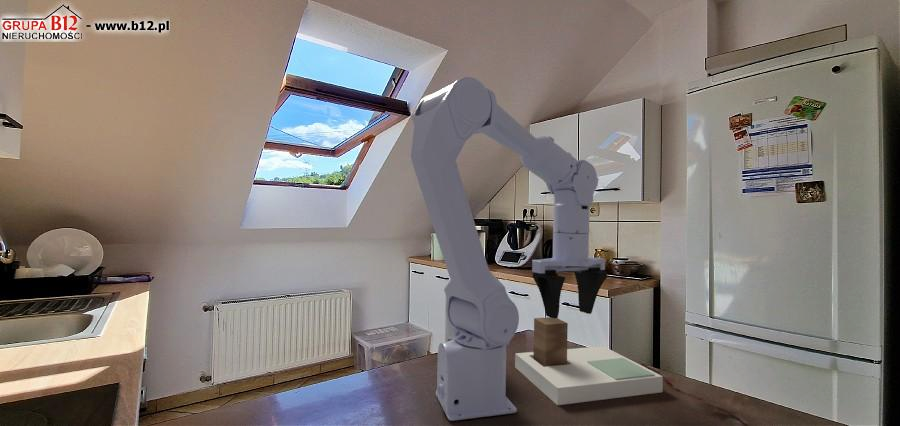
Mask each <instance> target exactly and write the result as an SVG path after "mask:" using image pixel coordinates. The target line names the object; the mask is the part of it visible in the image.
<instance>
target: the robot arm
mask: <svg viewBox="0 0 900 426" xmlns="http://www.w3.org/2000/svg"><path fill="white" fill-rule="evenodd" d="M411 120H412V123H413V133H412V142H411V143H412V144H411V151H410V158H411V162H412V166H413V169H414V173H415V176H416V178H417V181H418V184H419V187H420V188H419V189H420V191H421V194H422V197H423V200H424V203H425V206H426V209H427V211H428V215H429V218H430V221H431V224H432V227H433V230H434V234H435V236H436V239H437V244H438V245H439V248H440V252H441V255H442V258H443V261H444V264H445V267H446V269H447V273H448V276H449V279H450V280H449V282H448V283H446V286H445V287H444V289H443V290H444V294H445V299H446V298H447V306H446V305H445V316H446V315H447V319H448V321H449V323H450V324H451V325H452V326H453V327H454V335H455V339H453V340H451V341H448V342H445V341H443V342H440V343H439V345H438V349H437V359H436V361H437V366H436V367H437V372H436V377H437V378H436V391H435V396H436V398H437V399H438V402H439V404H440V405H441V408H442V410H443V412H444V413H445V415H446V417H447V419H448V420H449V421H454V422H455V421H459V420H460V421H461V420H468V419H477V418H483V417H486V418H487V417H492V416H494V417H495V416H501V415H502V416H503V415H509V414H515V413H517V407H516V406H515V405H514V404H513V403H512V402H511V400H510V399H509V398H508V397H507V396H506V390H507V389H506V388H507V387H506V384H507V346H508V345H510V344H511V340H512V339H513V337H514V336H515V334H516V332H517V330H518V327H519V322H520V316H519V315H520V314H519V310H518V308H517V305H516V303H514V301H513V300H511V298H510V296H508V293H507V289H506V286H505V285H504V284H503V283H502V282H501V281H500V280H499V278H497V277H496V276H495V275H494V274H493V272H491V271H490V269H489V265H488V261H487V258H486V256H485V253H484V250H483V246H482V242H481V239H480V236H479V233H478V230H477V227H476V226H477V225H476V223H475V219H474V216H473V213H472V210H471V206H470V204H469V200H468V197H467V193H466V190H465V187H464V184H463V180H462V178H461V174H460V170H459V168H458V163H457V160H458V157H459V155H460V154H461V151H462V150H463V147H464V146H465V143H467V141H468V140H469V139H470V138H471V137H472V136H473V135H476V134H483V135H485V136H487V137H489V138H490V139H492V140H494V141H495V142H497V143H499V144H500V145H502V146H504V147H505V148H507V149H509V150H510V151H512V152H514V153H515V154H517V155H518V156H520V161H521V165H522V166H523V168H525V169H526V170H528V171H530V172H531V174H534V175H535V176H536V177H538V178H540V179H541V180H542V181H543V182H544V183H545V184H546V186H547V187H546V188H547V189H548V191H549V193H550V194H551V195H553V223H552V224H553V229H552V230H553V231H552V257H551V258H550V257H549V258H543V259H532V262H531V263H532V264H531V265H532V266H531V270H532V279H533V280H534V282H535V285H536V286H537V288H538V290H539V293H540V297H541V299H542V303H543V307H544V312H545V316H546V317H551V318H558V319H559V317H558V316H559V313H560V301H561V300H560V298H561V293H562V289H563V287H564V283H565V280H566V277H565V276H561V275H559V274H558V273H557V272H559V273H562V272H573V273H574V276H575V281H576V284H577V291H578V292H577V293H578V296H577V297H578V308H579V309H578V310H579V311H580V313H585V314H588V315H591V314H592V313H593V310H594V306H595V303H596V299H597V296H598V294H599V291H600V289H601V287H602V285H603V284H604V282H605V281H606V279H607V277H608V272H607V271H605V270H606V258H603V257H589V248H590V247H589V245H590V244H589V243H590V206H591V205H592V204H593V202H594V194H595V192H596V190H597V187H598V184H599V177H598V176H597V171H596V169H595V166H594V165H593V164H592V163H590V162H589V161H587V160H585V159H580V160H577V159H576V157H574V156H573V154H571V153H570V152H569V151H566V150H565V149H564V148H562V147H561V146H560V145H558V144H557V143H556V142H555V139H554V137H551V136H550V135H549V136H548V135H547V136H546V135H538V136H536V137H535V136H534V135H533V134H532V133H531V132H529V131H528V130H527V128H526V127H524V126H523V125H522V124H521V123H519V122H518V120H517V119H515V118H514V117H513V116H512V115H511V114H510V113H508V112H507V111H506V110H505V109H504V108H503V107H501V105H500V104H498V101H497V97H496V93H495V92H494V91H493V90H491V89H489V88H487V87H486V86H485V85H484V84H483V83H482V82H481V81H480V80H479V79H477V78H475V77H471V76H464V77H461V78H458V79H457V80H456V81H454V83H451V84H449V85H447V86H445V87H443V88H441V89H440V90H438V91H436V92H434V93H430V94H428V95H426V96H424V97H423V98H422V99H421V100H420V101H419V102H418V104H417V106H416V108H415V109H414V111H413V112H412V114H411Z"/></svg>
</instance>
